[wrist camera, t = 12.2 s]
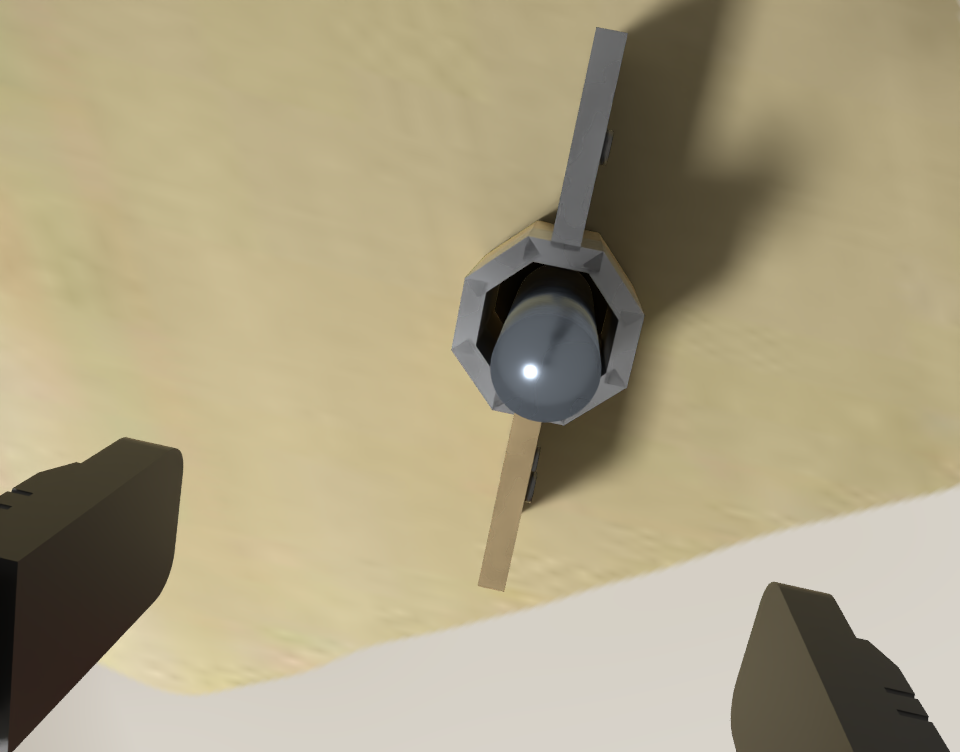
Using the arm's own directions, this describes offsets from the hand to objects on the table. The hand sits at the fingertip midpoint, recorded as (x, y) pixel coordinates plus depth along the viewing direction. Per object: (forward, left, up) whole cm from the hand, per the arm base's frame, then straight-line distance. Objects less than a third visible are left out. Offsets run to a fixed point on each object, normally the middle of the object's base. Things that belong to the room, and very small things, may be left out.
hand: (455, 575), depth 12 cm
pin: (0, +1, -26) cm, 26 cm away
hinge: (0, +1, -26) cm, 26 cm away
